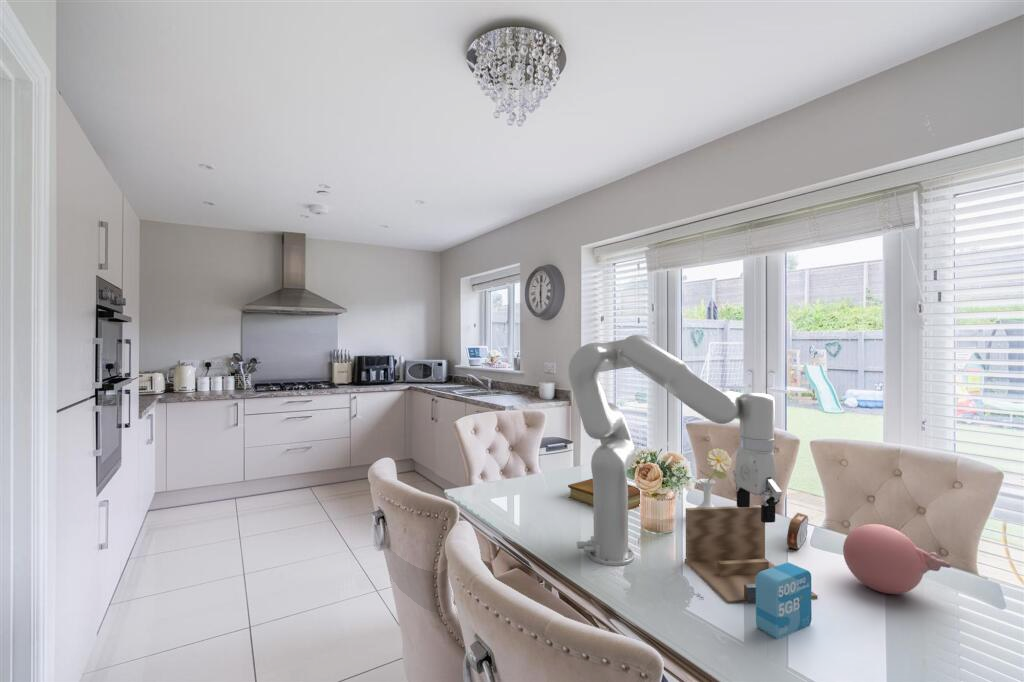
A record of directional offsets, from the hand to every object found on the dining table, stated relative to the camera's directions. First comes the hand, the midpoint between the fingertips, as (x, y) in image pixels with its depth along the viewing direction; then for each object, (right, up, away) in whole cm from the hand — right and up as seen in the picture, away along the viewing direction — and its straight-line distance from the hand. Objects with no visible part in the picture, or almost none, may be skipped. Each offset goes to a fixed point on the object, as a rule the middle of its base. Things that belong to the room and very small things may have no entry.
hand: (755, 514), depth 115 cm
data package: (-2, -18, -16) cm, 24 cm away
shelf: (0, -18, +4) cm, 19 cm away
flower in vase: (+7, -19, +42) cm, 47 cm away
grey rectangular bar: (+1, -18, -6) cm, 19 cm away
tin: (+26, -19, +25) cm, 40 cm away
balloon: (+32, -18, -2) cm, 37 cm away
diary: (-23, -19, +64) cm, 71 cm away
